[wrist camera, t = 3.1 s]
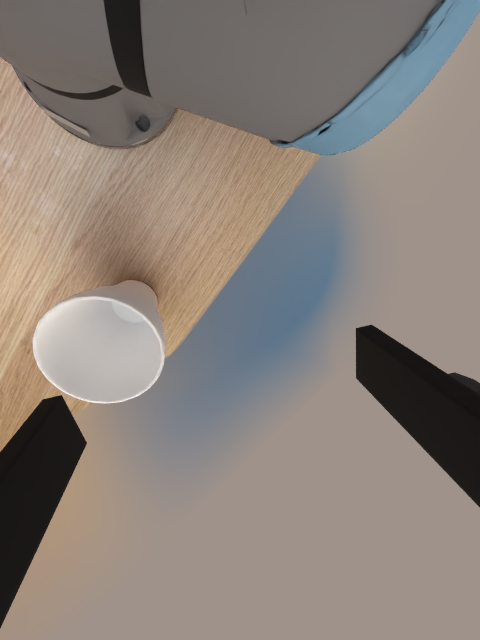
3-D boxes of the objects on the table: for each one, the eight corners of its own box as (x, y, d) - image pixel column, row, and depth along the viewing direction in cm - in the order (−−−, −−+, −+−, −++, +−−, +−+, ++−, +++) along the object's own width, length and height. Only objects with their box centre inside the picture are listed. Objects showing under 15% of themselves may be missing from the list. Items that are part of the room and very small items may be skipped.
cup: (98, 250, 33) (38, 278, 20) (184, 276, 35) (178, 315, 23) (84, 327, 36) (26, 392, 24) (164, 346, 39) (149, 413, 26)
